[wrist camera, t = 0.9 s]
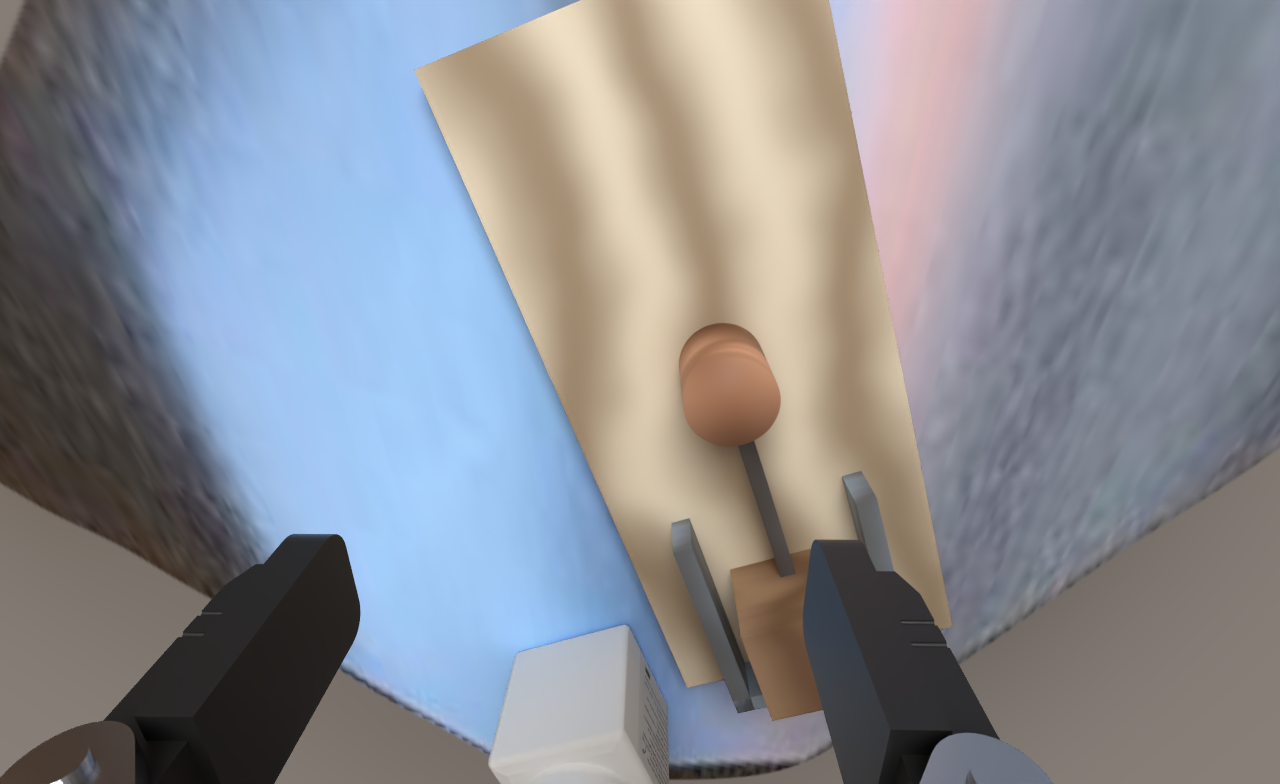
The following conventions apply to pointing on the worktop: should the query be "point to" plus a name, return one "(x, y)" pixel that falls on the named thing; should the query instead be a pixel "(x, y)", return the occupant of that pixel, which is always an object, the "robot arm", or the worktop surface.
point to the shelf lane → (697, 284)
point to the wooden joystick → (772, 589)
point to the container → (582, 715)
